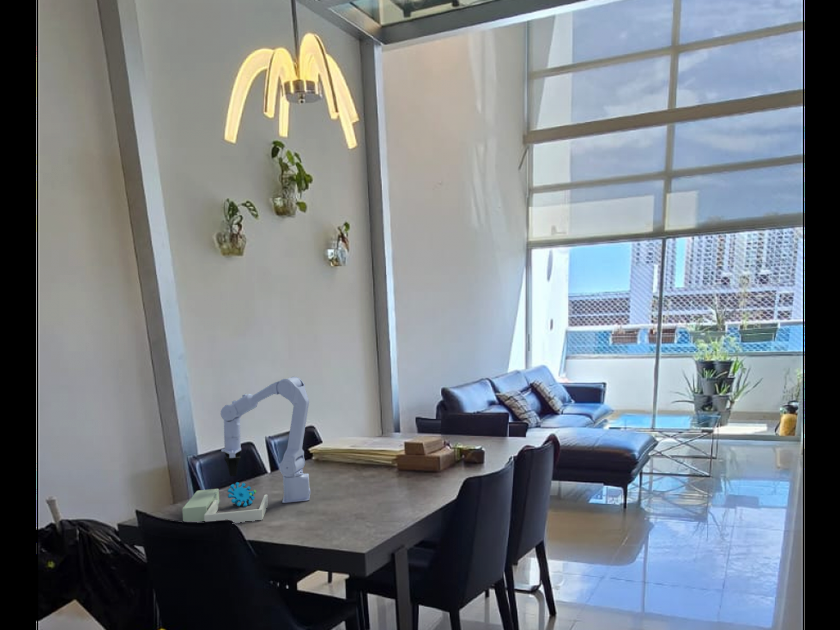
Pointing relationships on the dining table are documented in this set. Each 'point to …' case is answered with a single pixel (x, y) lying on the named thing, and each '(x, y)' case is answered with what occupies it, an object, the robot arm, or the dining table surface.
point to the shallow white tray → (236, 513)
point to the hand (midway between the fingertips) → (233, 473)
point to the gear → (241, 494)
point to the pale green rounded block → (199, 504)
